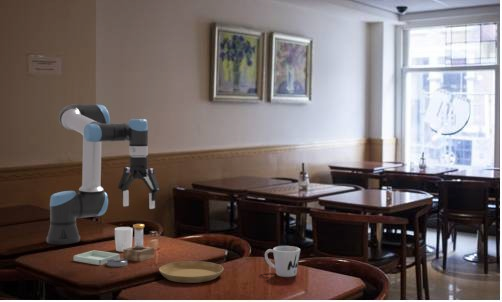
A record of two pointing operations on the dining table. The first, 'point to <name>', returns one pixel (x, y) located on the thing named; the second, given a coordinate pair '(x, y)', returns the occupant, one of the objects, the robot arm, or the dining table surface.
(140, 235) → the glass jar
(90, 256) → the tray
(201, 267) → the plant saucer
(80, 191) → the robot arm
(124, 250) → the socket block
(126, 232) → the white cup
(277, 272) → the mug
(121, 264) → the pulley wheel
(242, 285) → the dining table surface
